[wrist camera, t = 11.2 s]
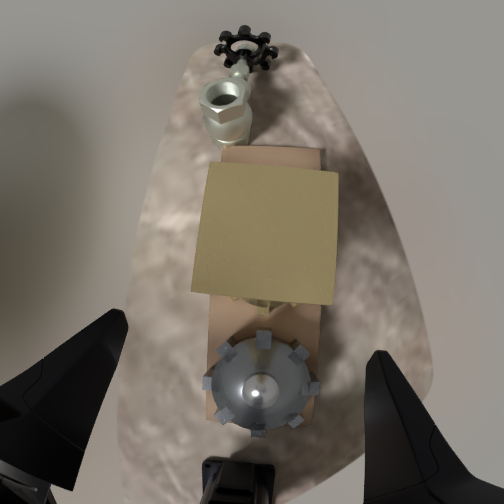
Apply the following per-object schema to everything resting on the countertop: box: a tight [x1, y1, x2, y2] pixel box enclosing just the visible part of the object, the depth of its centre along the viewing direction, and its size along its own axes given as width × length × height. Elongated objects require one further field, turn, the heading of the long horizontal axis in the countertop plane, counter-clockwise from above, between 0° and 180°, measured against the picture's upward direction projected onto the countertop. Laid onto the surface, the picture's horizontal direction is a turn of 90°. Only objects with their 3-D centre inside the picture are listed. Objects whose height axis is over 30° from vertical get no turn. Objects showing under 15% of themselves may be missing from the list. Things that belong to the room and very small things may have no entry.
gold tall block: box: [191, 162, 338, 315], centre depth 16 cm, size 7×7×12 cm
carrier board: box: [206, 146, 321, 425], centre depth 22 cm, size 24×9×1 cm, turn 177°
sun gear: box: [203, 327, 320, 438], centre depth 19 cm, size 8×8×4 cm
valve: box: [199, 25, 279, 149], centre depth 23 cm, size 7×7×12 cm
